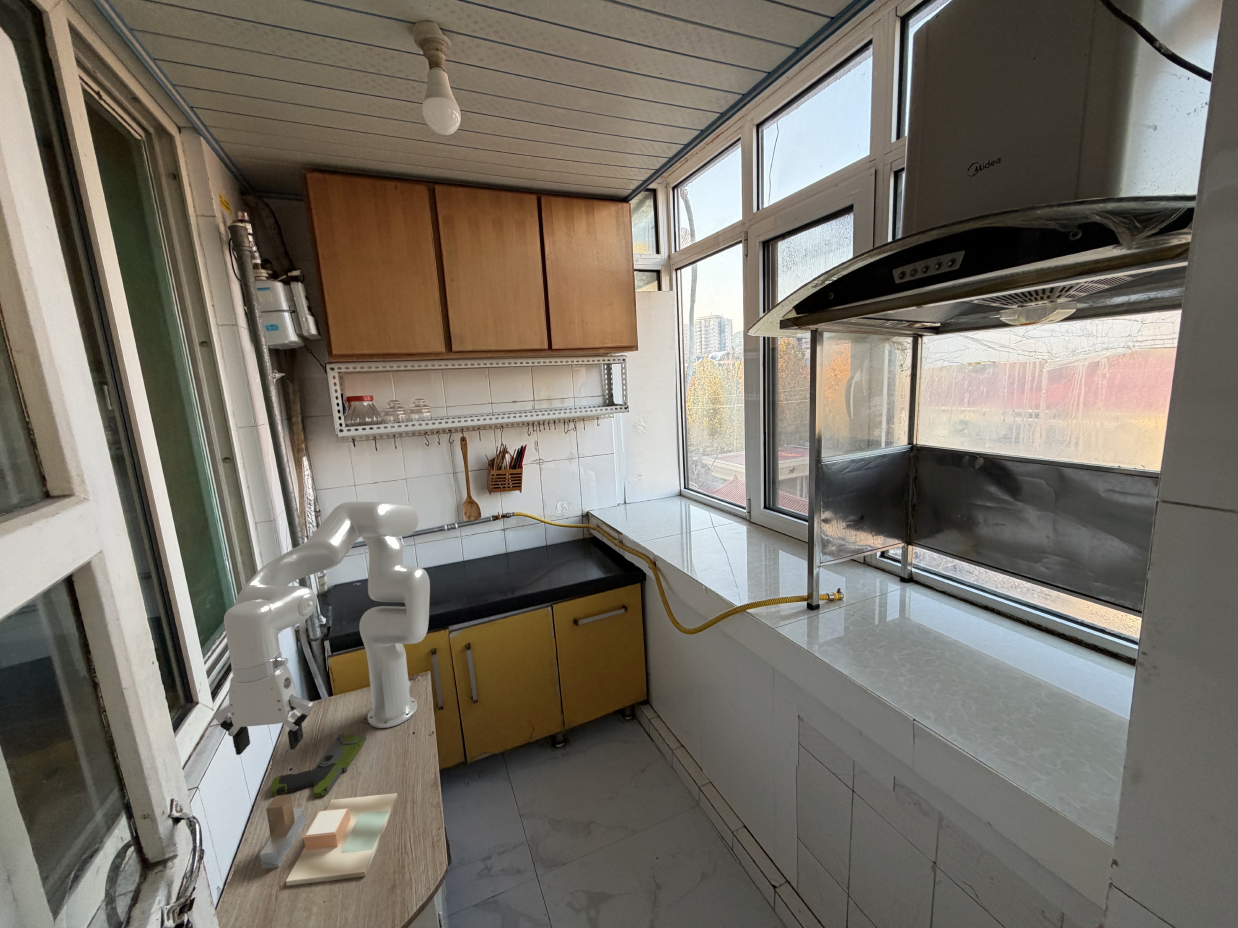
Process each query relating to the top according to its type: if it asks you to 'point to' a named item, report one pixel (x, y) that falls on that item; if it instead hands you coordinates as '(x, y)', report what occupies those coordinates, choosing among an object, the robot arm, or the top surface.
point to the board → (347, 842)
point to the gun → (322, 768)
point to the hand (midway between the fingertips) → (270, 746)
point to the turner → (281, 830)
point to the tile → (327, 829)
